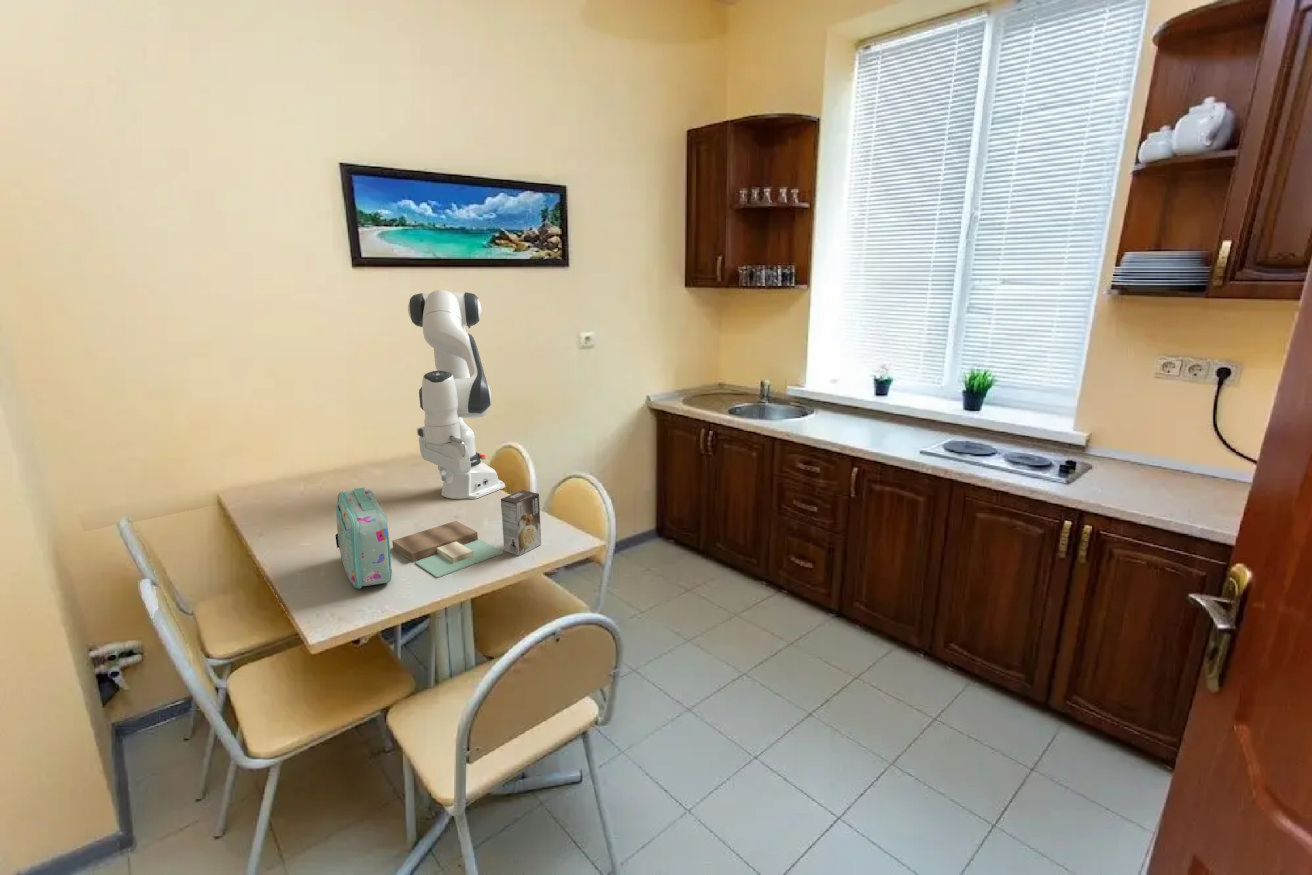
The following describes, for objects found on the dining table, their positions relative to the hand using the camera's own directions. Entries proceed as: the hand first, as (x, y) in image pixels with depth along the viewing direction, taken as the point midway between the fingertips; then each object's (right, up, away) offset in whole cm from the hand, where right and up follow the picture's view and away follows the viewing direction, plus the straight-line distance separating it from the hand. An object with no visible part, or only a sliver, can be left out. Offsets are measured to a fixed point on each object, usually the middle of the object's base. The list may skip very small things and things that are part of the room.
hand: (447, 481), depth 164 cm
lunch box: (-20, -24, -5) cm, 31 cm away
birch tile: (+1, -20, +4) cm, 20 cm away
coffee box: (+18, -20, +10) cm, 29 cm away
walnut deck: (-7, -19, +11) cm, 23 cm away
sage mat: (+3, -22, +3) cm, 22 cm away
